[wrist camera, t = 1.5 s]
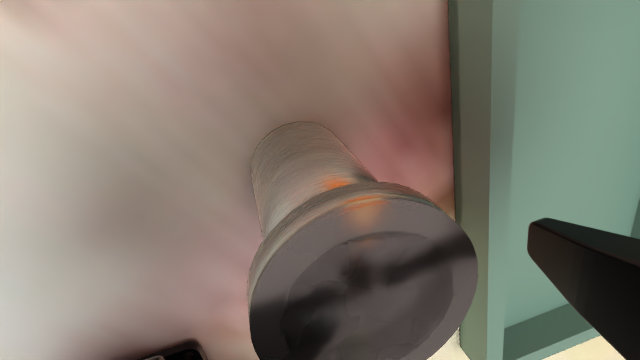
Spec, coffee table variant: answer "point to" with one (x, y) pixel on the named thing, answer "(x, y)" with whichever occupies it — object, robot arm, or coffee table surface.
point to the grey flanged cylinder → (349, 258)
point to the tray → (540, 153)
